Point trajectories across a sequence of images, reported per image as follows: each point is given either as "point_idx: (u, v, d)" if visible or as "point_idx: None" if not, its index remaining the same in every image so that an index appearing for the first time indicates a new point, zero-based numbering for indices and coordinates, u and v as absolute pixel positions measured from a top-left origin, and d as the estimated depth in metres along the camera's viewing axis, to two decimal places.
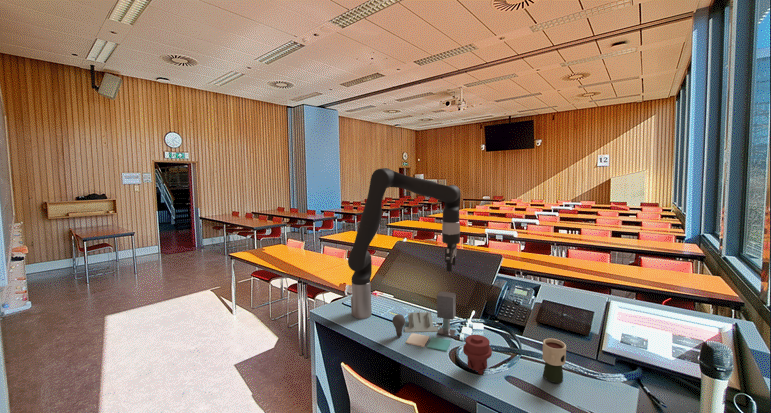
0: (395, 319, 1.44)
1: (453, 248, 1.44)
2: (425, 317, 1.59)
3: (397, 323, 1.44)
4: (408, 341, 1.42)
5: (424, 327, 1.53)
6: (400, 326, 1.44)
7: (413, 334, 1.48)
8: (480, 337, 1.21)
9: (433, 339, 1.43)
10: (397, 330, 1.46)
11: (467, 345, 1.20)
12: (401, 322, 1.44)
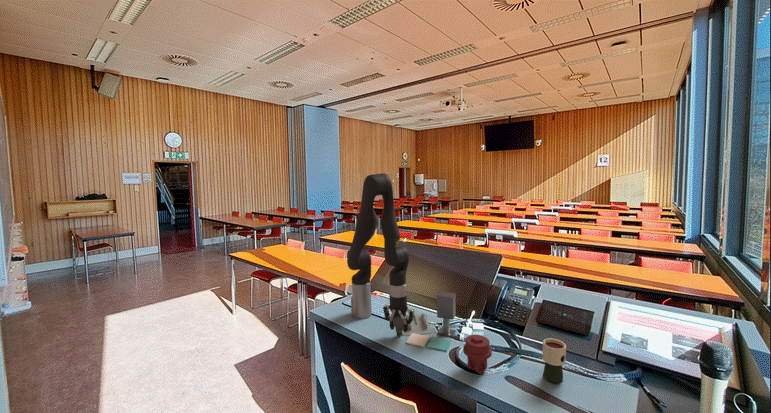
0: (395, 319, 1.44)
1: None
2: (421, 319, 1.57)
3: (397, 323, 1.44)
4: (408, 341, 1.42)
5: (421, 329, 1.51)
6: (400, 326, 1.44)
7: (413, 334, 1.48)
8: (480, 337, 1.21)
9: (433, 339, 1.43)
10: (397, 330, 1.46)
11: (467, 345, 1.20)
12: (401, 322, 1.44)
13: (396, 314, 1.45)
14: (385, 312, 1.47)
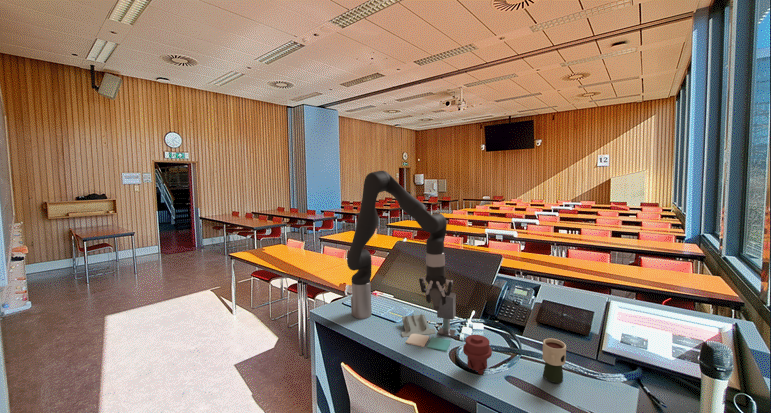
0: (433, 291, 1.35)
1: None
2: (420, 320, 1.56)
3: (435, 295, 1.34)
4: (408, 341, 1.42)
5: (421, 330, 1.50)
6: (438, 298, 1.35)
7: (413, 334, 1.48)
8: (480, 337, 1.21)
9: (433, 339, 1.43)
10: (435, 303, 1.36)
11: (467, 345, 1.20)
12: (439, 294, 1.34)
13: (433, 286, 1.36)
14: (421, 284, 1.38)
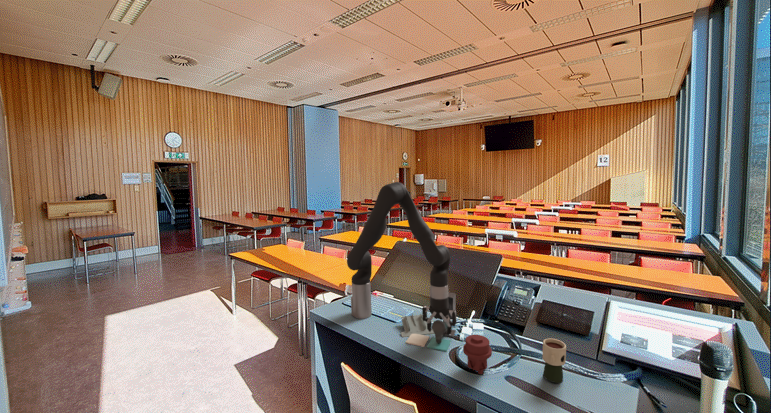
0: (435, 325, 1.37)
1: None
2: (419, 320, 1.56)
3: (437, 329, 1.36)
4: (408, 341, 1.42)
5: (420, 330, 1.50)
6: (441, 333, 1.37)
7: (413, 334, 1.48)
8: (480, 337, 1.21)
9: (433, 339, 1.43)
10: (437, 337, 1.38)
11: (467, 345, 1.20)
12: (442, 328, 1.36)
13: (436, 317, 1.38)
14: (424, 313, 1.40)
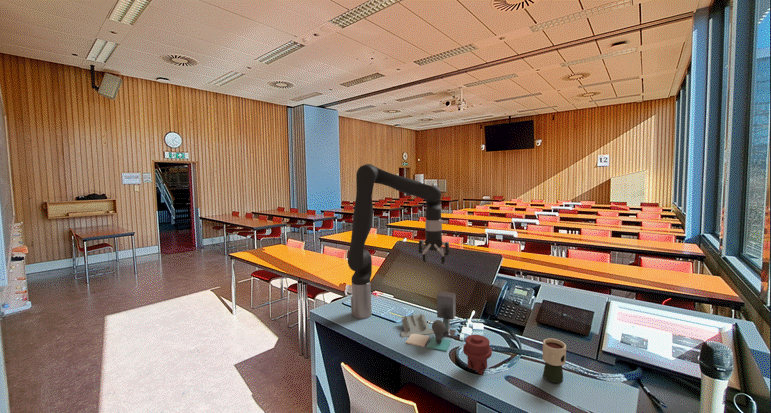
0: (435, 325, 1.37)
1: None
2: (419, 320, 1.56)
3: (437, 329, 1.36)
4: (408, 341, 1.42)
5: (420, 330, 1.50)
6: (441, 333, 1.37)
7: (413, 334, 1.48)
8: (480, 337, 1.21)
9: (433, 339, 1.43)
10: (437, 337, 1.38)
11: (467, 345, 1.20)
12: (442, 328, 1.36)
13: (430, 248, 1.57)
14: (420, 246, 1.59)
